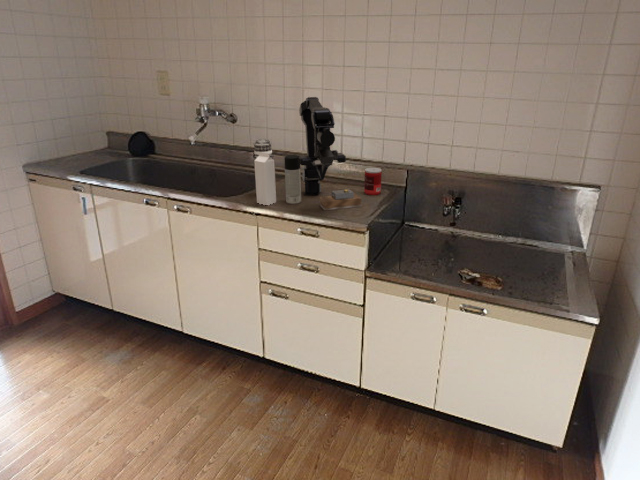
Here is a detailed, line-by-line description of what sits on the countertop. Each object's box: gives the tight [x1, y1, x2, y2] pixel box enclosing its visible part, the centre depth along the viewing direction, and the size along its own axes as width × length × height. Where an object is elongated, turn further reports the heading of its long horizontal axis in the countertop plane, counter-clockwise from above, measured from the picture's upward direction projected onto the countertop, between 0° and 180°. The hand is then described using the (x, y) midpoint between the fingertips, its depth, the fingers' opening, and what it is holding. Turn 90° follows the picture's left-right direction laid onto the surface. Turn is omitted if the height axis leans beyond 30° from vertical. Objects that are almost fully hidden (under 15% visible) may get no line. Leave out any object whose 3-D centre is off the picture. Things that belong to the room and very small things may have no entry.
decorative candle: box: [252, 138, 275, 183], centre depth 208 cm, size 9×9×25 cm
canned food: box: [363, 167, 383, 196], centre depth 211 cm, size 8×8×11 cm
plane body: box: [318, 193, 363, 211], centre depth 196 cm, size 17×8×4 cm, turn 107°
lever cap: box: [331, 188, 355, 200], centre depth 195 cm, size 8×5×3 cm, turn 107°
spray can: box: [284, 154, 302, 205], centre depth 199 cm, size 7×7×20 cm
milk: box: [253, 152, 277, 206], centre depth 197 cm, size 6×6×22 cm
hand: (322, 179), depth 190 cm, fingers closed
